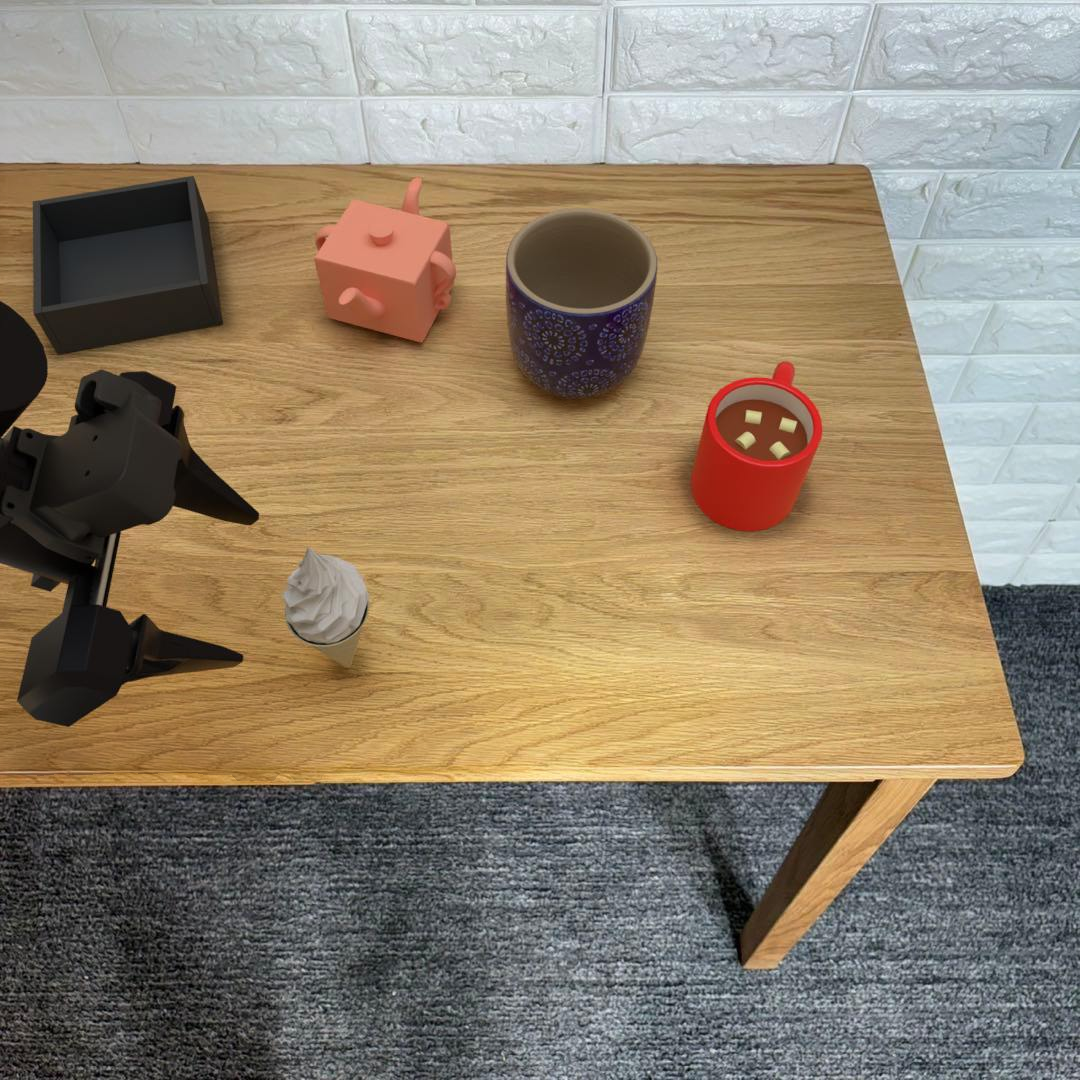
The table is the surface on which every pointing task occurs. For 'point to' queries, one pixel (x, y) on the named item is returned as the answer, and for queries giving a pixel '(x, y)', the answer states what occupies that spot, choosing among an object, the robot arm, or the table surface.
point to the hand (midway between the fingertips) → (247, 587)
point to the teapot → (386, 267)
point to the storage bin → (123, 265)
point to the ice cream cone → (327, 605)
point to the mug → (755, 451)
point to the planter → (579, 300)
